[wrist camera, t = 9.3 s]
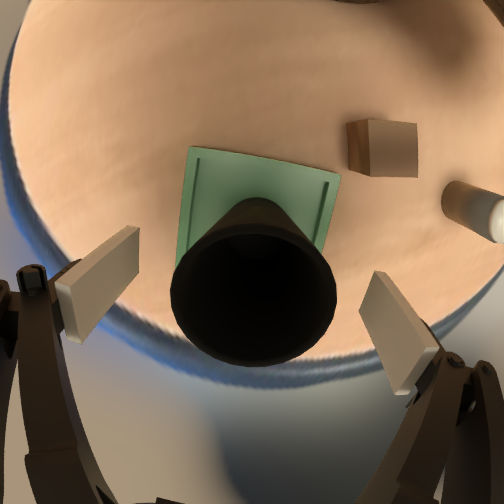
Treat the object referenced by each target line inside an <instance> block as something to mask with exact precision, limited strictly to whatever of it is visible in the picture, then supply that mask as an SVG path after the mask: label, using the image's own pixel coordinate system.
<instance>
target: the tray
mask: <svg viewBox="0 0 504 504" xmlns="http://www.w3.org/2000/svg"><path fill="white" fill-rule="evenodd" d="M340 178H341V175H340V174H337V173H334V172H330V171H326V170H322V169H318V168H313V167H309V166H305V165H300V164H295V163H291V162H286V161H281V160H276V159H271V158H265V157H260V156H254V155H249V154H243V153H237V152H230V151H224V150H217V149H210V148H202V147H194V146H191V147H189V149H188V156H187V163H186V170H185V177H184V185H183V193H182V201H181V210H180V220H179V230H178V240H177V252H176V266H175V269H176V267H177V265H178V264H179V262H180V260H181V258H182V256H183V255H184V254H185V253H186V252H187V251H188V250H189V249H190V248H191V247H192V246H193V245H194V244H195V243H196V242H197V241H198V240H199V239H200V238H201V237H202V236H203V235H204V234H205V233H206V232H207V231H208V230H209V229H210V228H211V227H212V226H213V225H214V224H215V223H216V222H217V221H218V220H220V219H221V218H222V217H223V216H224V215H225V214H226V213H227V212H228V211H229V210H230V209H231V208H232V207H233V206H234V205H235V204H237V203H239V202H240V201H242V200H244V199H248V198H253V197H261V198H266V199H269V200H271V201H273V202H275V203H276V204H278V205H279V206H280V207H281V208H282V209H283V210H284V211H285V212H286V213H287V215H288V216H289V217H290V218H291V219H292V220H293V221H294V223H295V224H296V225H297V226H298V227H299V228H300V229H301V231H302V232H303V233H304V234H305V235H306V236H307V237H308V239H309V240H310V241H311V242H312V243H313V244H314V246H315V247H316V248H317V249H318V250H319V252H320V253H322V249H323V246H324V242H325V239H326V235H327V231H328V227H329V223H330V219H331V216H332V212H333V208H334V204H335V199H336V195H337V191H338V187H339V183H340Z"/></svg>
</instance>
